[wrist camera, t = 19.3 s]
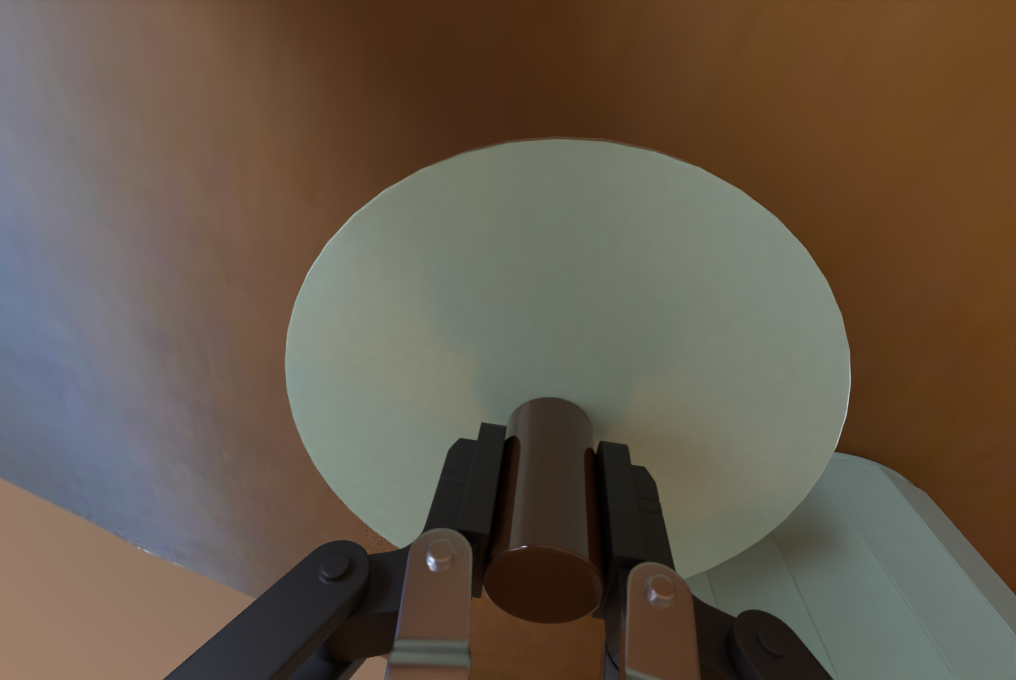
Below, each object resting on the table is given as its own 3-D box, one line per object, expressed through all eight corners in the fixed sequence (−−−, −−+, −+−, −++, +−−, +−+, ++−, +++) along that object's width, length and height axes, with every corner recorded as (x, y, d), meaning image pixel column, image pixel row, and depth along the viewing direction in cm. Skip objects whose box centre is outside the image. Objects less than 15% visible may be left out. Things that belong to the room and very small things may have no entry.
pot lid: (325, 532, 20) (234, 706, 14) (270, 92, 12) (11, 109, 6) (720, 597, 19) (782, 805, 14) (954, 181, 11) (1331, 286, 6)
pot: (609, 613, 30) (631, 897, 20) (676, 426, 23) (768, 720, 12) (854, 656, 29) (1012, 973, 19) (1004, 477, 22) (1399, 835, 12)
